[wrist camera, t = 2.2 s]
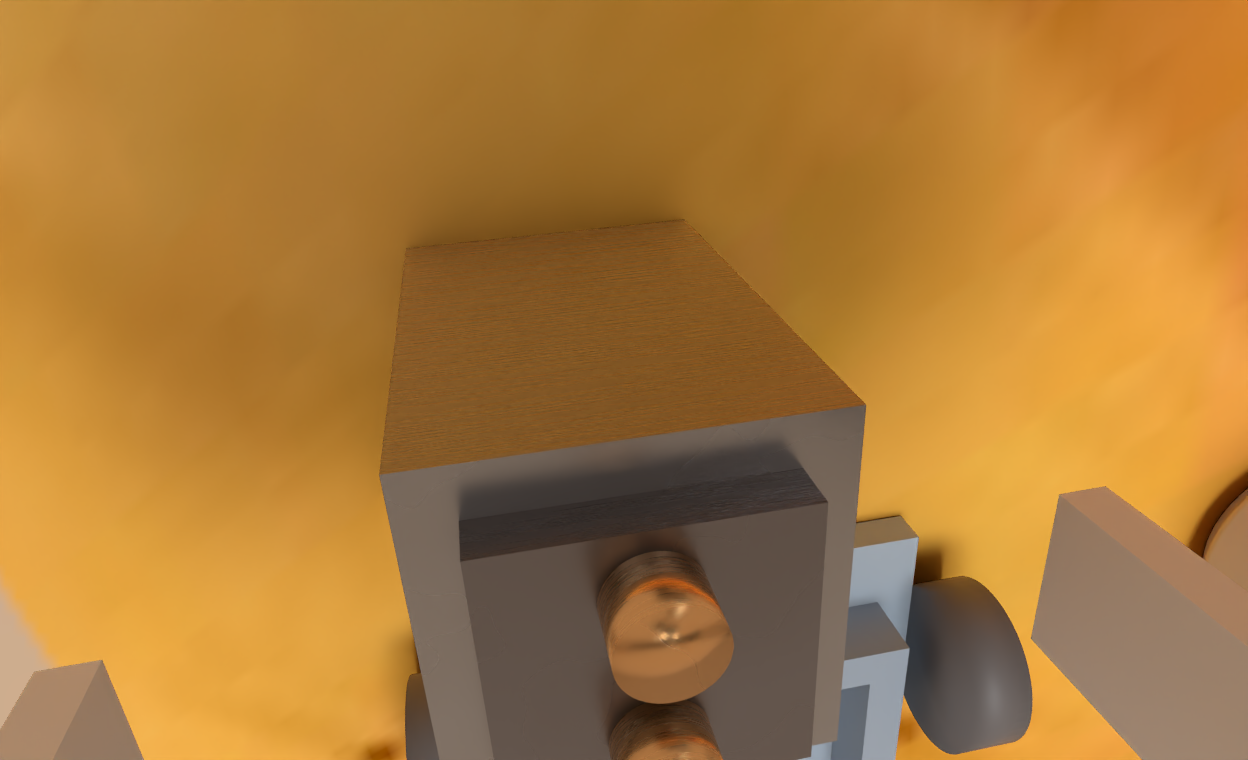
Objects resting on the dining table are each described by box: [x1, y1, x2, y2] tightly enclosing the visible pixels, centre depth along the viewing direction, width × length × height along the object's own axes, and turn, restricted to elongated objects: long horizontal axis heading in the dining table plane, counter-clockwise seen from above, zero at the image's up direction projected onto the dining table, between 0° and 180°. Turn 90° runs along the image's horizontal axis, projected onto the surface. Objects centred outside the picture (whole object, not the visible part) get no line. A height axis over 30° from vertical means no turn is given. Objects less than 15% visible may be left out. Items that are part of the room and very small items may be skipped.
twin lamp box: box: [379, 220, 866, 760], centre depth 15 cm, size 6×6×11 cm
